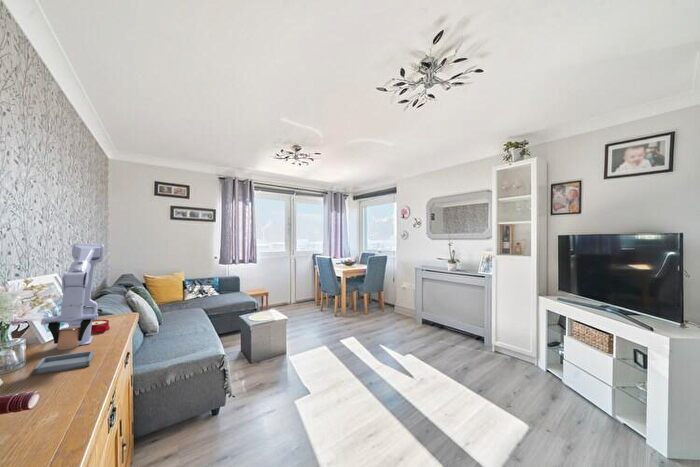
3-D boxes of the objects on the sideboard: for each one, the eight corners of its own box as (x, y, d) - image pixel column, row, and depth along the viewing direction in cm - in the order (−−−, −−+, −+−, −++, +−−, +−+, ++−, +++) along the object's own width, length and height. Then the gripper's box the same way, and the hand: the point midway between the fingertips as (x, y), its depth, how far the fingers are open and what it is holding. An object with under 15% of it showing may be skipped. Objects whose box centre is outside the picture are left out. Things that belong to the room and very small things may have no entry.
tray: (42, 362, 98) (43, 357, 98) (93, 355, 106) (93, 350, 106) (33, 375, 89) (33, 369, 89) (89, 366, 98) (89, 360, 98)
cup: (58, 345, 98) (60, 327, 99) (80, 342, 102) (81, 325, 102) (54, 350, 94) (57, 332, 94) (77, 347, 98) (79, 329, 98)
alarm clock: (112, 318, 141) (107, 319, 129) (111, 331, 140) (105, 333, 128) (85, 320, 135) (77, 321, 123) (83, 333, 134) (75, 336, 122)
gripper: (40, 308, 91) (35, 348, 90) (97, 305, 100) (93, 341, 99) (46, 304, 97) (41, 341, 96) (100, 301, 106) (96, 335, 105)
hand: (68, 341), depth 98 cm, fingers closed on cup, 6 cm apart
